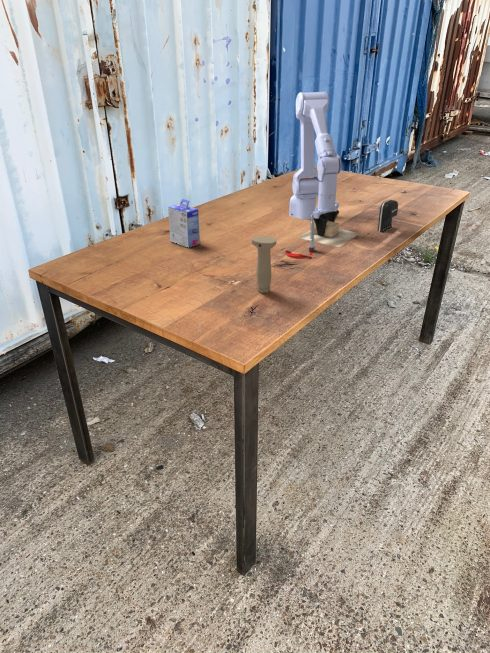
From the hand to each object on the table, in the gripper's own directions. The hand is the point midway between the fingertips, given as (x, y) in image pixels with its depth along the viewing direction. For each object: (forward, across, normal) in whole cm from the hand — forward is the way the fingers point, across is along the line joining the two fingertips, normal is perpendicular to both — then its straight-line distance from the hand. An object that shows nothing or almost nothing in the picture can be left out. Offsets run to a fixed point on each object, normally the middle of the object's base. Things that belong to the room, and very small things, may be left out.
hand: (324, 233), depth 173 cm
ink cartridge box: (+2, -31, +36) cm, 48 cm away
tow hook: (+2, -17, -1) cm, 17 cm away
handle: (+2, -46, -7) cm, 47 cm away
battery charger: (+2, +16, -16) cm, 23 cm away
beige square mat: (+2, 0, -2) cm, 2 cm away
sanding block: (0, 0, 0) cm, 0 cm away
